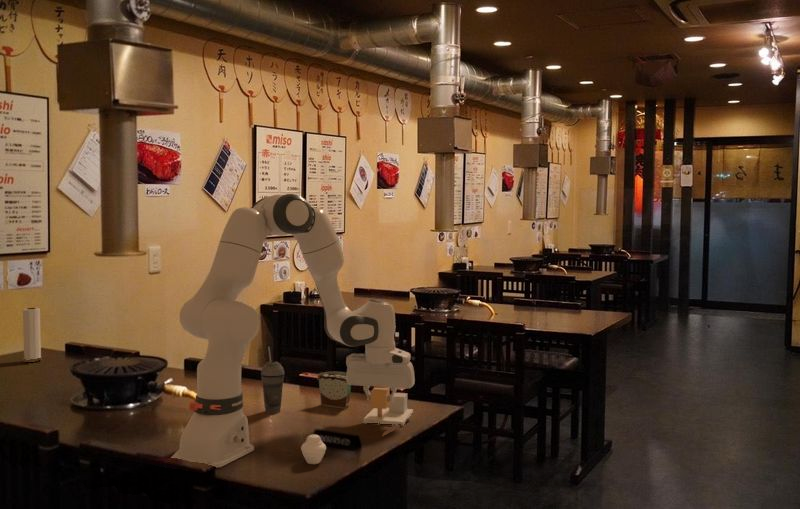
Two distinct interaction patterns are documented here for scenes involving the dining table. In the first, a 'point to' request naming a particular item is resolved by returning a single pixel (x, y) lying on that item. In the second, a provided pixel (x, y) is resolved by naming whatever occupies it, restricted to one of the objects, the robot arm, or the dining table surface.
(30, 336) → the paper towel roll
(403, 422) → the plate
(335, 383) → the food container
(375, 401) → the orange cube
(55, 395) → the dining table surface
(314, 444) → the muffin
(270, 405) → the beverage cup
